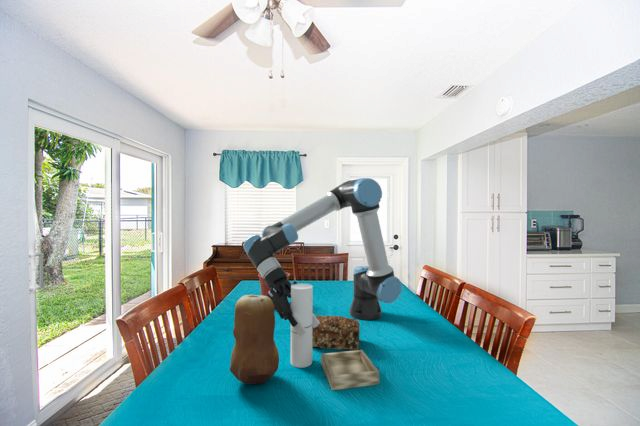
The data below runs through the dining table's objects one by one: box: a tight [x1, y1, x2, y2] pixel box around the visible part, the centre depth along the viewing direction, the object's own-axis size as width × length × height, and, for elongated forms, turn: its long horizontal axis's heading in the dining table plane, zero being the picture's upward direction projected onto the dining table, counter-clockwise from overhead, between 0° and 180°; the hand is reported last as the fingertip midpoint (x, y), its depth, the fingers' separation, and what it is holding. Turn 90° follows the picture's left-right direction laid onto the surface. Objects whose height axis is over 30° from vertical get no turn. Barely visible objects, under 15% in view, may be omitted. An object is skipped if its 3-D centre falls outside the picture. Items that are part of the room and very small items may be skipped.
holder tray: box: [320, 349, 380, 391], centre depth 92 cm, size 14×14×4 cm
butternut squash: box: [229, 293, 280, 386], centre depth 88 cm, size 14×13×25 cm
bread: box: [312, 314, 361, 351], centre depth 113 cm, size 19×11×10 cm, turn 82°
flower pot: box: [257, 271, 291, 309], centre depth 157 cm, size 16×16×16 cm
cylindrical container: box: [290, 283, 314, 369], centre depth 99 cm, size 7×7×25 cm
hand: (310, 329), depth 97 cm, fingers closed on cylindrical container, 7 cm apart
